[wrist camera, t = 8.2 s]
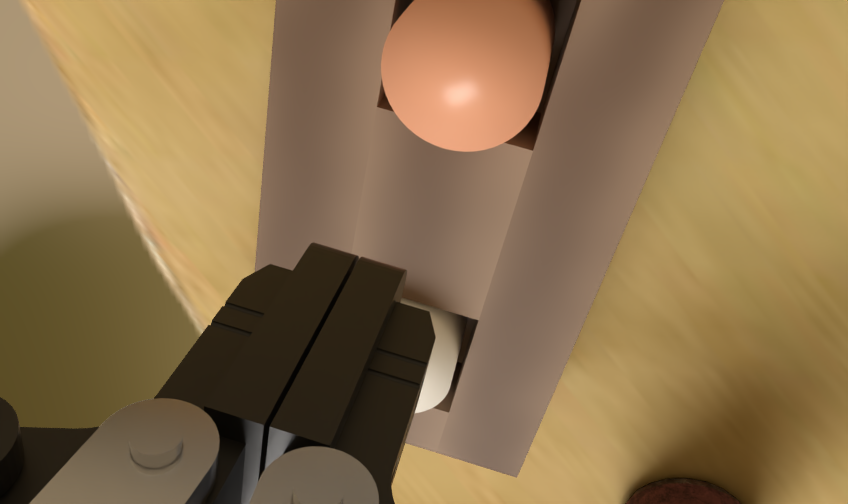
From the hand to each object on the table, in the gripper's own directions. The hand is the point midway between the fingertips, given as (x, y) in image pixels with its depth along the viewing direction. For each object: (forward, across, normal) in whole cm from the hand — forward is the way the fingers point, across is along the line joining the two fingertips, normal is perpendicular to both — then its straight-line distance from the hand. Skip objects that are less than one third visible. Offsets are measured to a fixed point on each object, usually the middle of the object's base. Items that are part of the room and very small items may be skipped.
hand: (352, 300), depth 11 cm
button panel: (+16, 0, +6) cm, 17 cm away
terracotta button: (+14, 0, 0) cm, 14 cm away
